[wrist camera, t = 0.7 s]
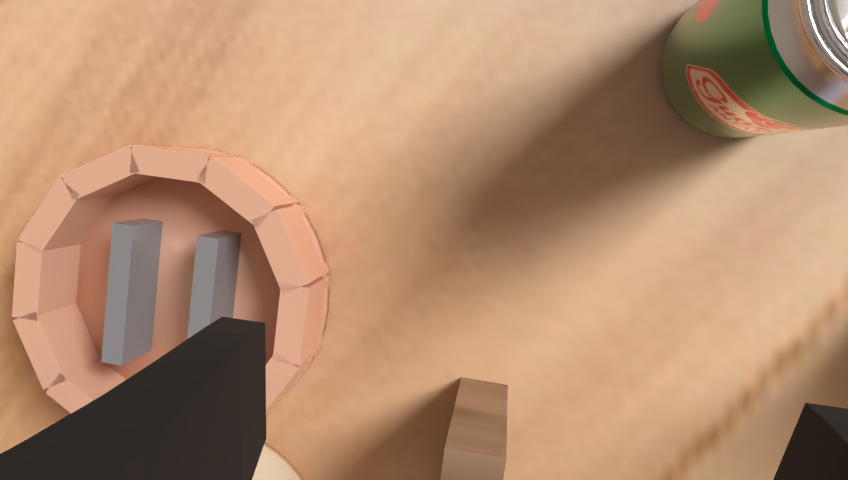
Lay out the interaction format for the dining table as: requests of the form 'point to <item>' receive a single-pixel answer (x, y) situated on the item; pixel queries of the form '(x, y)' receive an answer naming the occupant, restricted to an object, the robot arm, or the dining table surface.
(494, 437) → the brown rectangular block
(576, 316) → the dining table surface
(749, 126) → the soda can
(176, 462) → the robot arm
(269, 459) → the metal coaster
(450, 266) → the dining table surface
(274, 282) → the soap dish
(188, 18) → the dining table surface
